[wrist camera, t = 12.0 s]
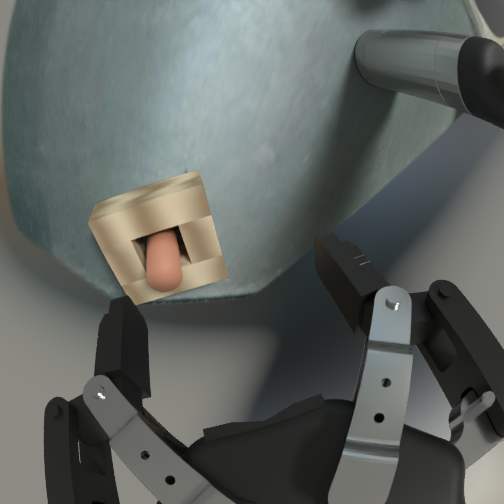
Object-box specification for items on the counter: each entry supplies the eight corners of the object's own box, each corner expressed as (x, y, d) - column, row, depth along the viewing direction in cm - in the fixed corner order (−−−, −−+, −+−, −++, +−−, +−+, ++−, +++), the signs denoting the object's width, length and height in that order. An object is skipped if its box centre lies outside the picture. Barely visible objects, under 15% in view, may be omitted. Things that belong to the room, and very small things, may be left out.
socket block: (197, 169, 34) (203, 184, 30) (221, 256, 43) (228, 277, 39) (95, 204, 32) (87, 222, 29) (134, 282, 41) (133, 305, 37)
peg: (171, 214, 37) (176, 258, 29) (179, 238, 39) (187, 286, 31) (143, 223, 36) (140, 269, 28) (153, 246, 39) (154, 296, 31)
